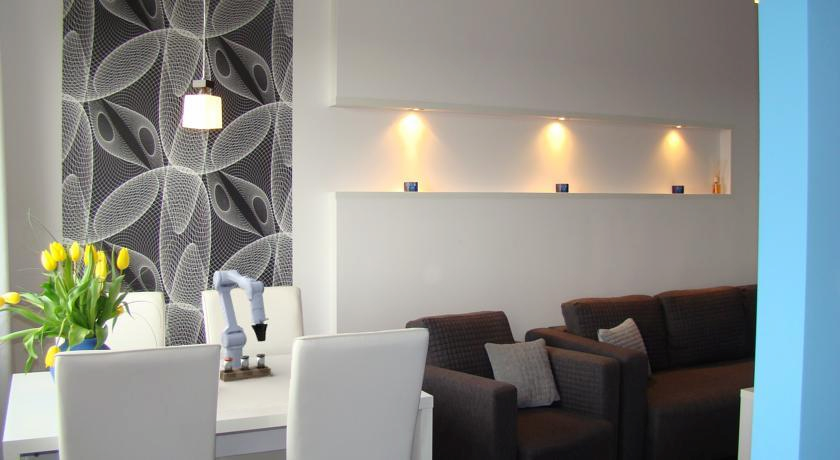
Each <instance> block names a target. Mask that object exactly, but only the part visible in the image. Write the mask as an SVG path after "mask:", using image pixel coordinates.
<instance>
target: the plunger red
mask: <svg viewBox="0 0 840 460" xmlns="http://www.w3.org/2000/svg"><path fill="white" fill-rule="evenodd" d="M232 360H233V358H231V357H228V358H225V357H223V361H224V365H225V367H224V370H225V372H232V371H233V369H232Z"/></svg>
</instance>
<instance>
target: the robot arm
mask: <svg viewBox="0 0 840 460" xmlns="http://www.w3.org/2000/svg"><path fill="white" fill-rule="evenodd" d="M212 281H213V286H214V289H215V291H216V292H217V293H218V299H219V303H220V307H221V311H222V316H223V322H224V325H225V328H224V329H223V330H222V331H221V333H220V335H221V345H222V347H223V348H224V349H225V350H224V355H223V356H224V358H228V357H231V358H233V360H232V369H236V368H241V358H240V357H241V356H244V355H243V354H244V353H243V352H244V351H243V348H244V347H245V346H246V344H247V342H248V341H247V335H246V333H245V330H244V328H243V327H241V326H240V325H238V321H237V317H236V313H235V309H234V304H233V301H232V300H233V299H232V296H231V291H232V290H233V289H235V287H236V285H237V286H238V288H240V289H241V290H243V291H245V294H246V296H247V299H248V300H249V307H250V314H251V315H250V316H251V323H252V324H253V323H254V324H253V325H252V324H251V328H252V329H253V331H254V333H255V336H256V340H257V342H265V341H266V340H267V339H266V338H267V337H266V335H267V328H268V323H265V322H266V321H269V318H267V317H266V311H265V305H264V303H265V302H264V297H263V294H264V293H265V284H264V283H263V281H261V280H258V281H256V280H255V279H254V278H250V276H249V275H241V274H240V273H239V270H236V269H231V270H230V269H228V270H215V272H214V273H213V278H212ZM222 367H223V368H225V364H222Z"/></svg>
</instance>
